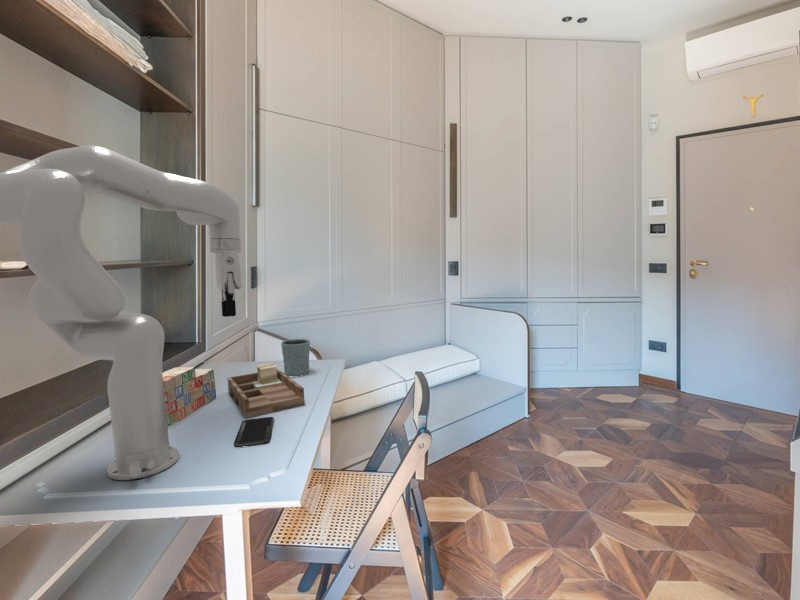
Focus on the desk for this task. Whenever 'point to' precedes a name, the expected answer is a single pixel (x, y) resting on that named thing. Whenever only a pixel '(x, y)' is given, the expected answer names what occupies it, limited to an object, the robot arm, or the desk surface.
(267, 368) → the maple block
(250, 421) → the phone
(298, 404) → the wooden shelf
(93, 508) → the desk surface
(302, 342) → the grey green pot
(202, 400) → the stack of blocks
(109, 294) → the robot arm
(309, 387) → the desk surface
